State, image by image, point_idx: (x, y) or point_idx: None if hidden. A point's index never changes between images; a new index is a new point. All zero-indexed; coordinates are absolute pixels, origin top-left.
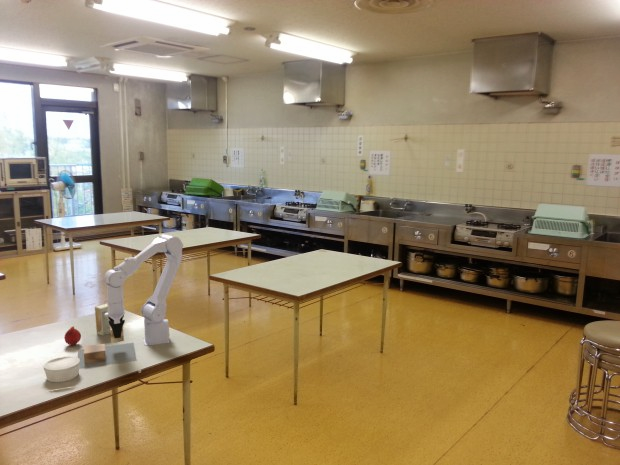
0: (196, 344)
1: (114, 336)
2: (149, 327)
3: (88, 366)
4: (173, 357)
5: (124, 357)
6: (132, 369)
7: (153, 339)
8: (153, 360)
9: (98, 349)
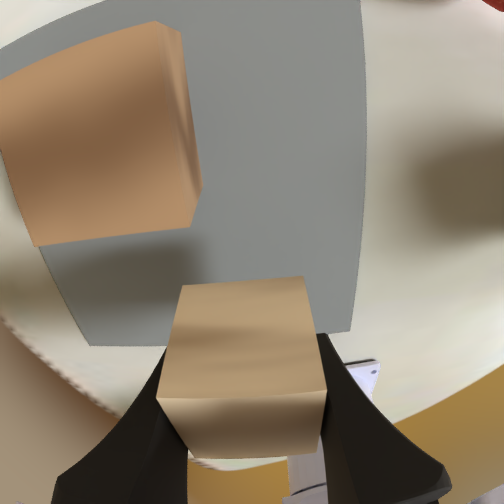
0: (241, 460)
1: (159, 360)
2: (297, 471)
3: None
4: None
5: (121, 302)
6: (19, 321)
7: None
8: (107, 385)
9: (50, 191)
